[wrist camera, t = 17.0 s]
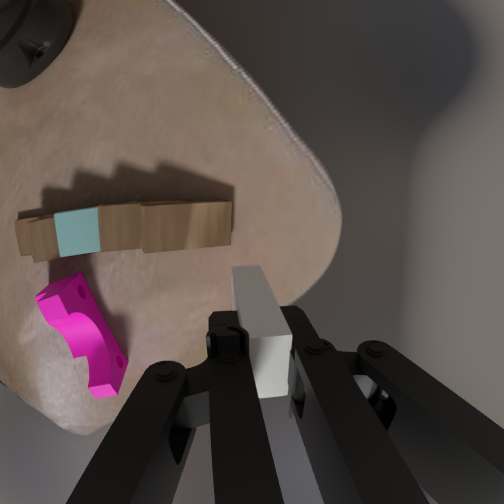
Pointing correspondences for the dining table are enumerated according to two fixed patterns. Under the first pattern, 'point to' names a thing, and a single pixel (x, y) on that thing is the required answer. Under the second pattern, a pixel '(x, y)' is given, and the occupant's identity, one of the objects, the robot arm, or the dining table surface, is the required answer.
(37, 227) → the domino
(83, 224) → the domino
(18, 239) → the domino
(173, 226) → the domino
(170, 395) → the robot arm
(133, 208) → the domino
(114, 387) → the toy block
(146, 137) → the dining table surface
